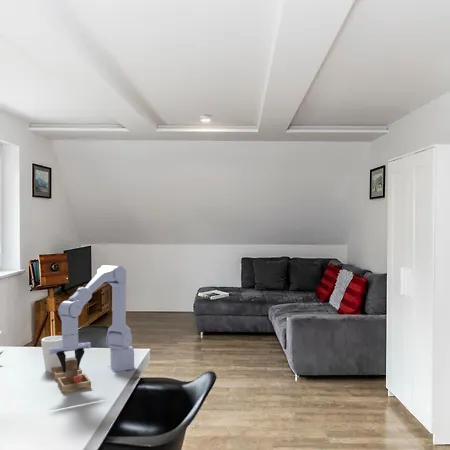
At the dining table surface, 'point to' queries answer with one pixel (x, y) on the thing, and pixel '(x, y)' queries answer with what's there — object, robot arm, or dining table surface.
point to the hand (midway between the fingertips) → (70, 370)
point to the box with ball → (73, 384)
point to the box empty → (60, 372)
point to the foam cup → (46, 344)
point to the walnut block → (70, 367)
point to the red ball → (78, 379)
